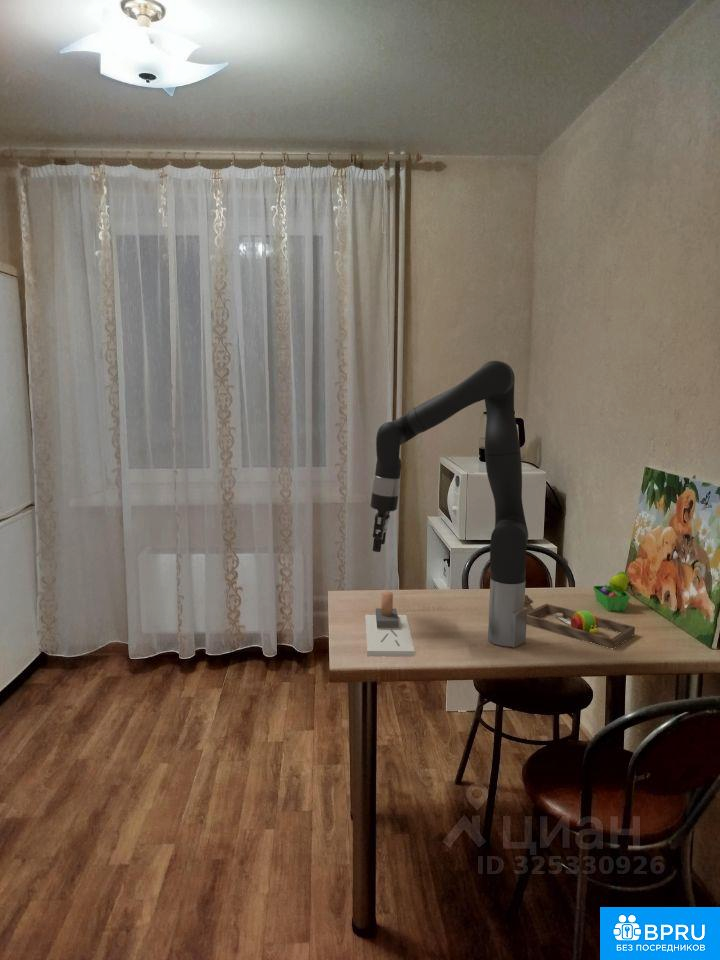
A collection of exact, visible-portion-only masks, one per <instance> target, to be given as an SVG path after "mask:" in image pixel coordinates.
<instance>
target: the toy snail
mask: <svg viewBox="0 0 720 960" xmlns="http://www.w3.org/2000/svg"><path fill="white" fill-rule="evenodd" d="M554 616H555V617H554V618H556V619H558V620H560V621H562V622H563V623H565V624H567V625H568V626H569V627H573V628H576V629H580V630H583V631H587V632H590V633H594V634H597V635H600V634H599V633H600V631H599V629H598V628H599V627H598V622H597V619H596V617H597V616H596V615H594V614H593V613H592V612H590V611H589V610H578V611H577V612H576V613H574V615H573V618H572V619H570V621H569V620H568V619H567V618H564V617H563V613H556V614H555V615H554ZM595 616H596V617H595ZM563 618H564V619H563ZM567 620H568V621H567Z"/></svg>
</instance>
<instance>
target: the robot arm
mask: <svg viewBox="0 0 720 960" xmlns="http://www.w3.org/2000/svg"><path fill="white" fill-rule="evenodd" d="M515 381H516V379H515V372H514V371H513V369H512V366H510V365H509V364H508V363H506V362H503V361H500V360H489V361H487V362H485V363H483V364H482V366H481V367H480V368H478V369H477V370H476V371H475V372H473V373H472V374H470V375H469V376H468V377H467V378H466V379H464V380H463V381H461V382H459V383H458V384H457V385H455V386H453V387H451V388H450V389H448V390H446V391H444V392H441V393H440V394H438V395H436V396H434V397H432V398H430V399H428V400H426V401H423V403H421V404H419V405H417V406H415V407H413V408H412V409H411V410H409V411H408V412H407V413H406V414H404V415H402V416H400V417H399V418H396V419H394V420H391V421H388V422H384V423H383V424H381V425H380V426H379V427H378V430H377V434H376V440H375V445H376V446H375V449H376V452H375V453H376V464H375V472H374V479H373V482H372V483H373V484H372V488H371V489H372V491H371V499H370V507H371V508H372V509H374V510H377V512H376V514H375V515H374V519H373V520H374V524H373V532H372V538H373V543H372V544H373V545H372V551H373V552H376V553H380V552H381V550H382V545H384V544H385V543H386V536H387V531H388V528H389V526H390V520H391V515H390V513H391V512H395V511H396V510H397V508H398V503H399V495H400V488H401V487H400V486H401V485H400V484H401V483H400V482H401V473H402V459H401V457H400V449H401V448H400V447H401V445H403V444H404V443H405V444H406V442H409V441H410V440H411V439H414V438H415V437H417V436H418V435H420V434H422V433H424V432H427V431H428V430H431V429H433V428H434V427H436V426H438V425H439V424H442V423H443V422H445V421H447V420H448V419H449V418H451V417H453V416H455V414H457V413H458V412H460V411H462V410H463V409H466V408H467V407H469V406H471V405H474V404H475V403H478V402H481V401H484V404H485V412H486V422H485V423H486V424H485V436H484V458H485V459H484V460H485V469H486V475H487V479H488V482H489V486H490V489H491V492H492V496H493V497H492V498H493V500H494V515H495V519H494V520H495V522H494V529H493V530H492V532H491V536H490V545H489V546H490V547H489V570H490V575H489V576H490V578H489V579H490V581H489V600H488V602H489V603H488V605H489V606H488V626H487V627H488V630H487V641H489V642H490V643H492V644H494V645H497V646H501V647H510V648H512V649H513V648H517V647H518V646H520V645H521V644H523V643H526V640H527V625H528V624H527V608H525V607H524V600H525V595H526V594H525V593H526V579H527V578H526V577H527V574H526V573H527V571H526V570H527V569H526V564H527V563H526V562H527V560H526V559H527V543H528V541H529V531H528V526H527V523H526V522H527V521H526V517H525V512H524V505H523V494H522V493H523V470H522V469H523V468H522V455H521V445H520V437H519V431H518V426H517V422H516V421H517V420H516V416H515V414H516V413H515V383H516V382H515Z"/></svg>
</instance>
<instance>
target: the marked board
mask: <svg viewBox="0 0 720 960" xmlns="http://www.w3.org/2000/svg"><path fill="white" fill-rule="evenodd" d="M397 615H398V620H399V629H377V625H376V614H365V630H366V631H365V633H366V650H367V651H366V655H367V657H371V656H374V658H375V657H382V656H385V657H393V658H395V657H396V658H397V657H398V658H399V657H401V658H404V657H405V658H406V657H407V658H409V657H412V656H413V658H414V657H415V648H414V643H413V639H412V634H411V631H410V627H409V622H408V618H407V614H397Z"/></svg>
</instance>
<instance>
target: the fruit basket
mask: <svg viewBox="0 0 720 960" xmlns="http://www.w3.org/2000/svg"><path fill="white" fill-rule="evenodd" d="M629 579H630V578H629V577H628V573H627V572H625V571H619V572H618V573H617V574H616V575H614V576H612V577H611V578H610V579H609V580H608V581H609V584H605V585H593V586H592V587H593V590H594V594H595V599H596V603H597V602H599V603H600V604H601V605H603V606H602V607H603V608H604V607H605V608H606V609H605V608H604V609H605V610H606V611H607V610H609V611H610V612H612V611H611V610H614V611H613V612H625V611H626V608H627V605H628V603H629V600H630V599H631V595H630V594H629V593H627V592H625V591H626V590H627V588H628V582H629ZM599 603H598V604H599ZM600 604H599V605H600ZM601 605H600V606H601ZM615 610H616V611H615ZM620 610H621V611H620ZM609 611H608V612H609Z"/></svg>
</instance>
